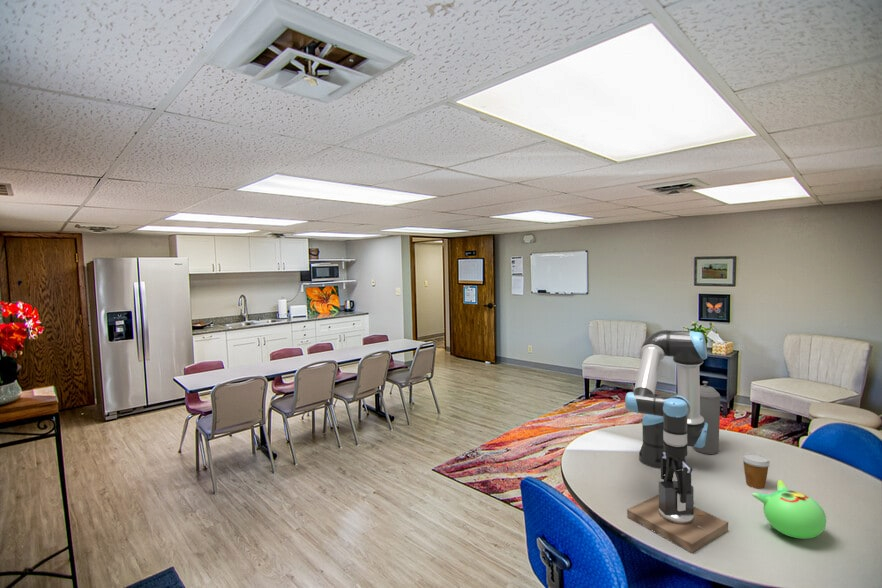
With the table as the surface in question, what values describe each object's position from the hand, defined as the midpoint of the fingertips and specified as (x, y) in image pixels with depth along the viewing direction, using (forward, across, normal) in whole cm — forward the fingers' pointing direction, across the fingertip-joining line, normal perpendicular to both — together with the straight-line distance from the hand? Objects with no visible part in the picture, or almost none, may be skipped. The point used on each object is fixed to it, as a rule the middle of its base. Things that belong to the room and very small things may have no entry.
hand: (675, 505), depth 153 cm
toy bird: (+7, -13, -35) cm, 38 cm away
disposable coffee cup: (+7, +16, -51) cm, 54 cm away
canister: (+7, +51, -57) cm, 77 cm away
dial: (+4, 0, 0) cm, 4 cm away
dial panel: (+7, 0, 0) cm, 7 cm away
